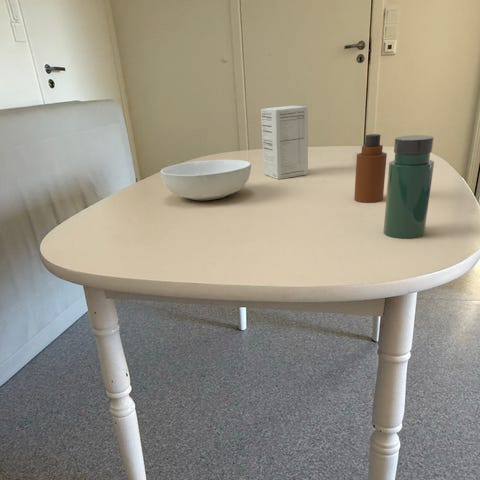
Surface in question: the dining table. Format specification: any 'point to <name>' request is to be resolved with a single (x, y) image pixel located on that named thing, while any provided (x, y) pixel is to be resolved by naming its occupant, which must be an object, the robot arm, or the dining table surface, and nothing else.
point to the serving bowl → (206, 178)
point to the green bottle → (409, 187)
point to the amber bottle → (370, 171)
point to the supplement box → (285, 141)
